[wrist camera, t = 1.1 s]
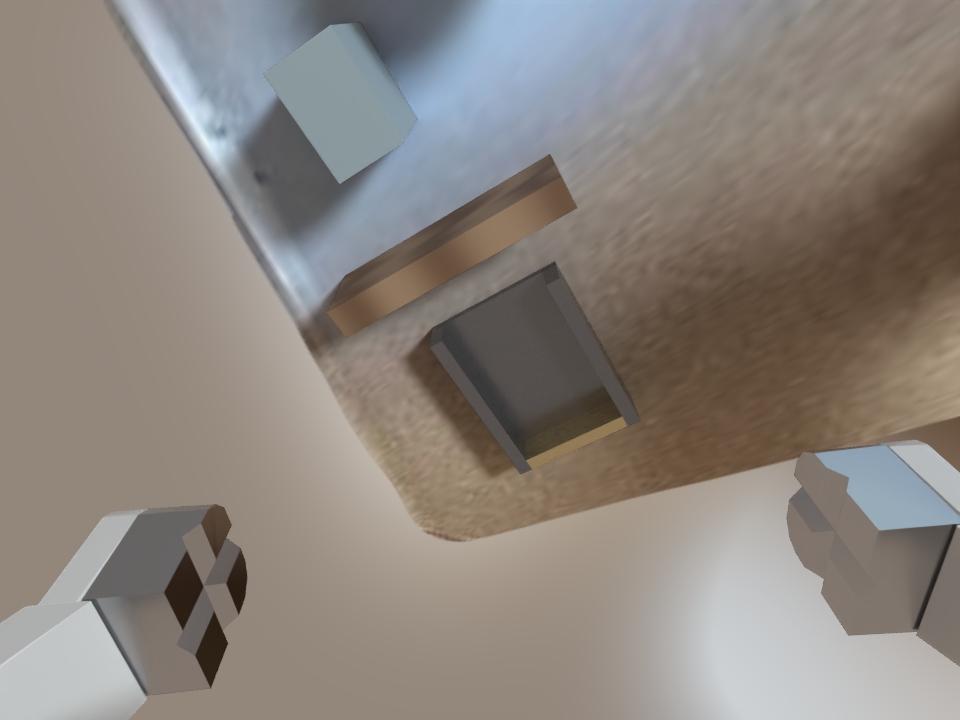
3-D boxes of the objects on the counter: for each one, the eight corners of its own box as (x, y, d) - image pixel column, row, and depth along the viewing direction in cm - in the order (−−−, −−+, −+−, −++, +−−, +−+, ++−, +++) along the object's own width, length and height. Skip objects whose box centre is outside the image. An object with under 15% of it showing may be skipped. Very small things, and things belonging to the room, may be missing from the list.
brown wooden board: (550, 154, 39) (561, 176, 33) (564, 181, 39) (577, 207, 34) (345, 275, 43) (326, 312, 37) (362, 298, 43) (346, 337, 38)
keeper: (554, 261, 42) (559, 278, 39) (631, 397, 48) (640, 420, 45) (432, 327, 45) (429, 347, 42) (518, 450, 50) (520, 474, 48)
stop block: (359, 22, 35) (329, 24, 28) (417, 118, 38) (403, 142, 31) (304, 62, 36) (262, 73, 29) (364, 152, 39) (339, 183, 32)
